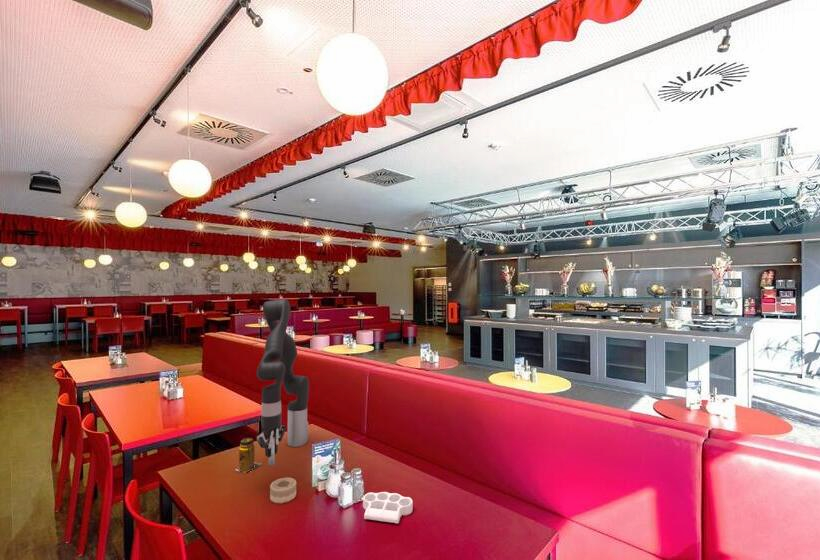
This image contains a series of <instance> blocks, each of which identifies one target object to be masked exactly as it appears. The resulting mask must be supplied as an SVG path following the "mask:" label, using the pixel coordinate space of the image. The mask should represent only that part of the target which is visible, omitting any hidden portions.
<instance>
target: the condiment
mask: <svg viewBox="0 0 820 560" xmlns="http://www.w3.org/2000/svg"><path fill="white" fill-rule="evenodd" d="M254 441H255V440H254V439H253V438H252V437H251V438H250V437H246V438H243V439H241V440H240V442H239V443H240V444H239V448H238V453H239V456H238V468H239V470H240V471H248V470H251V469H252V471H254V470H255V469H257V468H258V467H260V466H261V465H263V463H259V462H256V461H255V444H254ZM254 465H255V468H254ZM253 469H254V470H253ZM239 470H238V469H237V468H236V469H234V471H237V472H240V471H239Z"/></svg>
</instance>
